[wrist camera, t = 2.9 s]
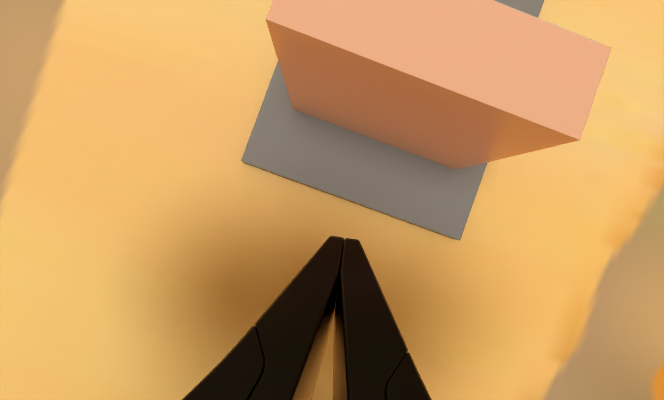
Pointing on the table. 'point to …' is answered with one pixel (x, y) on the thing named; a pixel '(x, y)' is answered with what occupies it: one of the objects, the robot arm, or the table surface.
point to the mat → (364, 162)
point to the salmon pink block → (438, 74)
